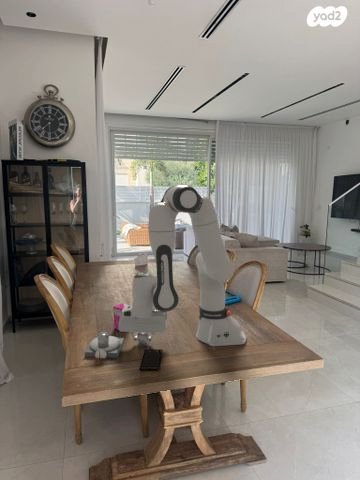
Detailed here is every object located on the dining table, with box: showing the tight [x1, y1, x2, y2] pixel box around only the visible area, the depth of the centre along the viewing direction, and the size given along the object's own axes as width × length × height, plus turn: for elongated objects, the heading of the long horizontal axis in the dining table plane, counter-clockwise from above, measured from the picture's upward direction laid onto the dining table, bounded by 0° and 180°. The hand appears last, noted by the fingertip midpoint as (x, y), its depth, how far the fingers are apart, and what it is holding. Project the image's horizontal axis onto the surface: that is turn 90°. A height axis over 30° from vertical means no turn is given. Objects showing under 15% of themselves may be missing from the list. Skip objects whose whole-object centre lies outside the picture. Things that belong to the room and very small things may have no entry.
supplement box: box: [112, 302, 129, 333], centre depth 154 cm, size 6×6×12 cm
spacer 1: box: [97, 331, 110, 348], centre depth 132 cm, size 4×4×5 cm
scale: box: [84, 335, 125, 359], centre depth 135 cm, size 13×14×4 cm
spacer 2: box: [137, 332, 149, 348], centre depth 140 cm, size 4×4×5 cm
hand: (142, 340), depth 140 cm, fingers open, 5 cm apart
